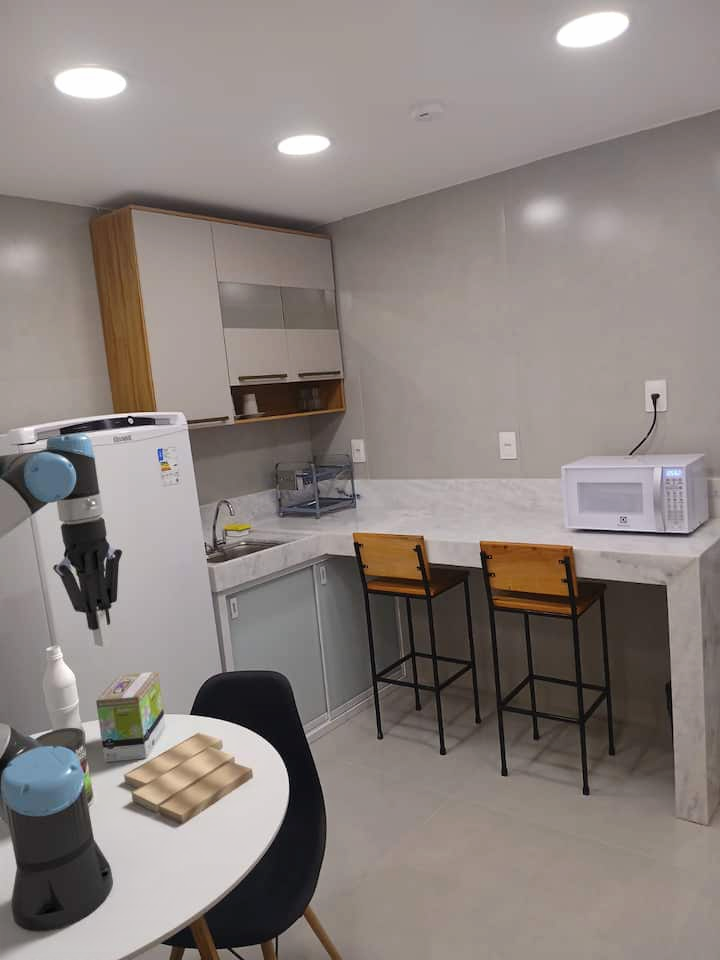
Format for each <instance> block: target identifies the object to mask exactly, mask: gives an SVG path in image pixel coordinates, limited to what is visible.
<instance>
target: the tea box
mask: <svg viewBox="0 0 720 960" xmlns="http://www.w3.org/2000/svg"><path fill="white" fill-rule="evenodd" d="M160 685H161V684H160V678H159V673H158V671H149V672H141V673H128V674H120V675H118V676H117V677H115V679H114V680H113V682H111V683H110V685H109V686H108V687H107V688H106V689H105V690H104V692H102V693H101V695H100V696H98V698H97V699H96V700H95V701H96V709H97V715H98V716H97V718H98V722H99V723H98V724H99V731H100V738H101V743H102V752H103V758H104V763H105V762H106V763H107V762H108V763H109V762H121V761H122V762H123V761H131V760H134V761H135V760H141V759H147V757H148V755H150V753H151V751H152V749H153V748H154V747H155V745H156V743H157V741H158V740H159V739H160V737H161V736H162V734H163V732H165V729H166V728H167V726H166V720H165V719H166V718H165V714H164V707H163V700H162V692H161V691H162V690H161V686H160Z"/></svg>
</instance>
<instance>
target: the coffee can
mask: <svg viewBox="0 0 720 960" xmlns="http://www.w3.org/2000/svg"><path fill="white" fill-rule="evenodd" d="M83 737H84V735H83V731H82V730H81V729H78V728H64V729H59V730H55V731H53V730H52V731H51V730H50V731H49V732H46V733H44V734H42V735H40V736H37V737H36V738H35V739H36V740H37V741H38V742H39V743H40V744H41V745H42V746H43V747H46V746H52V747H53V748H56V747H58V746H60V747H64V748H67V749H70V750H71V751H73V752H74V753H75V754H76V755H77V757H78V759H79V761H80V765H81V767H82V769H83V772H84V784H85V790H86V796H87V802H88V808H89V807H90V806H91V805H92V804H93V802H94V800H95V796H94V791H93V787H92V780H91V775H90V767H89V763H88V758H87V756H88V755H87V752H86V745H85V744H86V743H85V744H84V739H83Z"/></svg>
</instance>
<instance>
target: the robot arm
mask: <svg viewBox="0 0 720 960" xmlns="http://www.w3.org/2000/svg"><path fill="white" fill-rule="evenodd" d="M45 446H46V447H45V449H42V450H38V451H28V452H22V453H12V454H4V455H0V540H2V539H3V538H5V536H7V535H8V534H9V533H11V532H12V531H13V530H15V529H16V528H17V527H19V526H21V524H23V522H25V521H27V519H29V518H30V517H31V516H33V515H34V514H35V513H37V512H39V510H41V509H42V508H43V507H45V506H46V505H48V504H50V503H52V504H53V503H55V502H56V506H57V507H56V508H57V513H58V520H59V521H60V522H63V523H61V526H60V531H61V536H62V542H63V545H64V547H65V548H64V549H65V550H64V553H63V557H64V558H63V559H62V561H60V562H59V563H58V564H54V566H53V567H52V568H53V569H52V570H53V571H54V572H55V573H56V574H57V575H58V576H59V577H60V579H61V581H62V584H63V586H64V589H65V591H66V593H67V595H68V598H69V601H70V603H71V605H72V607H73V609H74V611H75V612H77V613H83V614H85V615H86V617H85V618H86V623H87V628H88V629H89V630H91V631H92V634H93V635H92V636H93V640H94V645H95V646H98V647H105V646H108V645H111V638H110V633H109V632H110V631H109V627H108V626H109V625H110V624H111V616H110V611H109V610H110V609H111V608H112V604H113V603H116V602H117V601H118V586H119V585H118V584H119V583H118V581H119V567H120V566H119V565H120V564H119V563H120V560H121V558H122V554H123V550H121V549H120V548H119V549H116V548H114V547H111V546H110V543H109V542H108V540H107V538H106V537H107V534H108V533H107V528H106V522H105V518H103V517H102V515H103V514H104V511H103V504H102V499H101V493H100V488H99V487H100V486H99V482H98V480H99V479H98V473H97V466H96V456H95V452H94V448H93V444H92V441H91V438H90V436H88V434H85V433H77V434H67V435H62V436H60V435H59V436H55V437H49V438H47V439H46V445H45ZM72 567H73V568H74V570H75V574H76V576H77V578H78V580H77V578H76V577H75V575H74V573H73V572H72V570H73V568H72ZM77 581H78V582H79V584H78V582H77ZM0 818H1V820H2V821H3V822H4V823H5V824H6V825H7V827H8V829H9V832H10V833H9V834H10V838H11V842H12V844H11V845H12V848H13V853H14V858H15V864H16V871H15V878H14V883H13V890H12V894H11V895H12V896H11V900H10V901H11V902H10V903H11V910H12V911H11V912H12V916H13V917H12V918H13V920H14V921H13V922H15V924H16V926H18V927H19V928H21V929H23V930H25V931H31V932H46V931H50V930H56V929H59V928H62V927H65V926H68V925H70V924H73V923H75V922H77V921H80V920H81V919H83V918H84V917H86V916H88V915H89V914H90V913H91V914H92V912H94V911H95V910H97V909H98V908H99V907H100V906H101V905H102V904H103V902H104V901H105V900H106V899H107V897H108V896H109V895H110V893H111V891H112V890H113V886H114V885H113V884H114V879H113V874H112V873H113V872H112V869H111V865H110V863H109V861H108V859H107V858H106V856H105V855H104V852H103V851H102V850H101V848H100V847H99V845H98V843H97V841H96V840H95V838H94V837H95V836H94V833H93V832H94V831H93V826H92V821H91V815H90V810H89V807H88V802H87V796H86V790H85V784H84V772H83V769H82V767H81V765H80V761H79V759H78V757H77V755H76V754H75V753H74V752H73V751H71V750H70V749H67V748H64V747H60V746H58V747H56V748H53V747H52V746H46V747H43V746H42V745H41V744H40V743H39V742H38V741H37V740H36V738H34V737H32V736H30V735H27V734H24V733H21V732H20V731H18V730H16V729H15V728H13V727H12V726H10V725H8V724H7V723H0Z"/></svg>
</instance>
